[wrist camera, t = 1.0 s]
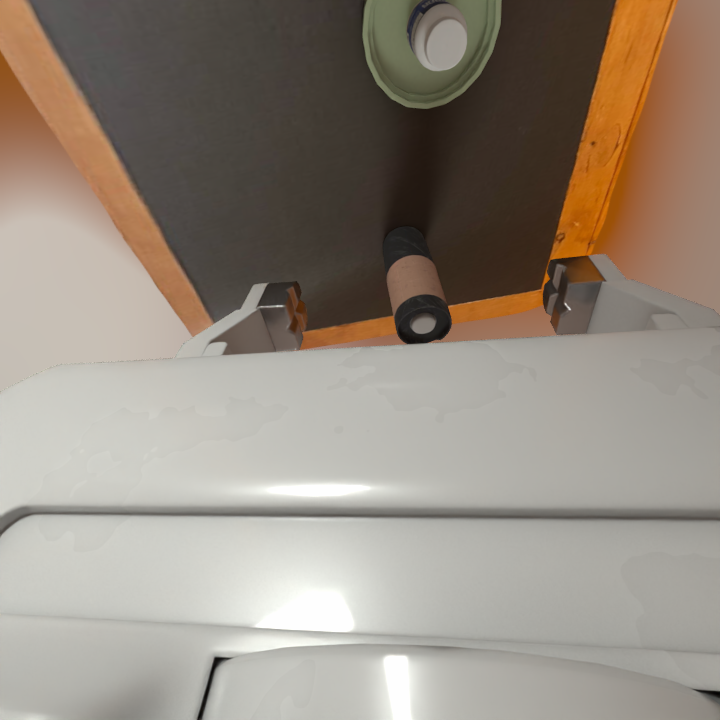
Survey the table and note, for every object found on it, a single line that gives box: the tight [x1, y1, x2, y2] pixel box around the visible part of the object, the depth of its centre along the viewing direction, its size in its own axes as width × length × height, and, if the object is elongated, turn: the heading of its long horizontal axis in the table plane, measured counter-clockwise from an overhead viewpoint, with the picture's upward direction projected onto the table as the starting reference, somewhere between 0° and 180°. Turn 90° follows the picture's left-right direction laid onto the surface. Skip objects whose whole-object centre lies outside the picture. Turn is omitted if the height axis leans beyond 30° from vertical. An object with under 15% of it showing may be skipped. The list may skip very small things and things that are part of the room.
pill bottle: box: [406, 0, 467, 71], centre depth 41 cm, size 5×5×10 cm
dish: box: [362, 0, 502, 109], centre depth 44 cm, size 15×15×2 cm
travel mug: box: [383, 226, 452, 344], centre depth 59 cm, size 8×8×20 cm
